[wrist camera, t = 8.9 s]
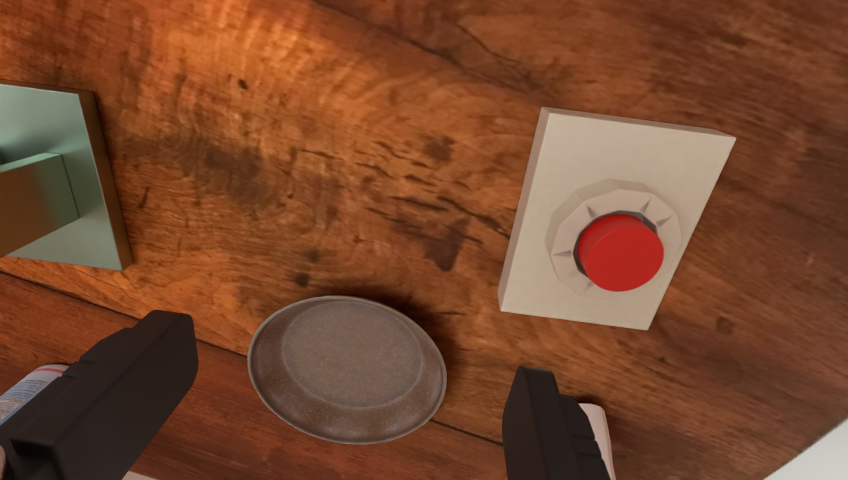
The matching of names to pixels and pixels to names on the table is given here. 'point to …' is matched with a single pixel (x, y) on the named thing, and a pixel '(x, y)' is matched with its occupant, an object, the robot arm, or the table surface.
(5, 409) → the pill bottle
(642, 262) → the button
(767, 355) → the table surface
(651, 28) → the table surface
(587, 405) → the faucet
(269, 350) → the saucer
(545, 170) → the button box
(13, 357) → the table surface
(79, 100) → the bracket
